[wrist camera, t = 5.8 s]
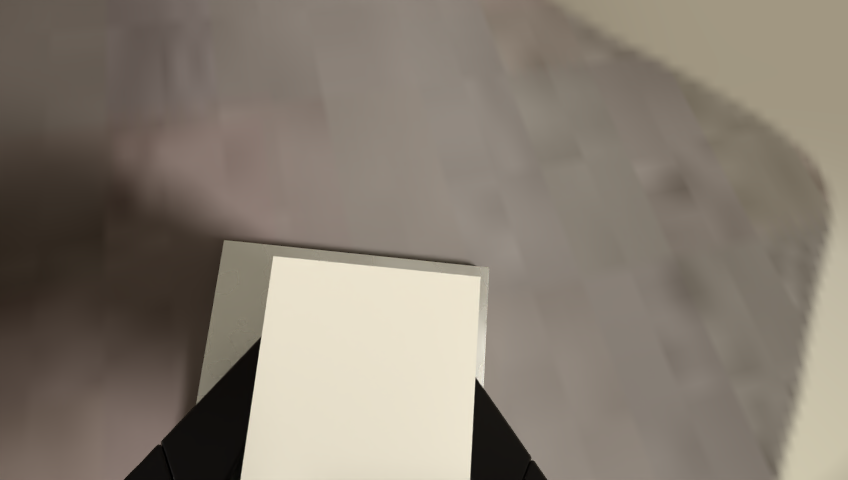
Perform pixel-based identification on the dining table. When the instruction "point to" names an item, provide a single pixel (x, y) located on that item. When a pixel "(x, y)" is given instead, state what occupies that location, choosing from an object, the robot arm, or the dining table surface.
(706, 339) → the dining table surface
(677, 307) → the dining table surface
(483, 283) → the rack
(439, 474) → the cream rectangular block
